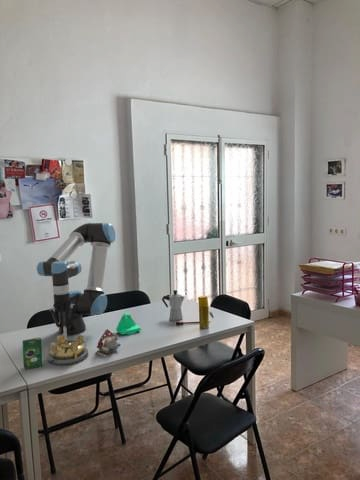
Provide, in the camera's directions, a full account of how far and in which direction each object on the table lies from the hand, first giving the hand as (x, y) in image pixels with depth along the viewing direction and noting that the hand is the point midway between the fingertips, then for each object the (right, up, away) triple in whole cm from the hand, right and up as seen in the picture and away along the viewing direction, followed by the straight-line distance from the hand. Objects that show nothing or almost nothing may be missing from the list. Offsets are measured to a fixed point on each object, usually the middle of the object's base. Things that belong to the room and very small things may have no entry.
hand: (64, 339), depth 194 cm
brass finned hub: (+3, -5, -6) cm, 8 cm away
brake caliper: (+22, -6, +1) cm, 23 cm away
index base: (+3, -7, -6) cm, 10 cm away
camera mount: (+28, -3, +27) cm, 40 cm away
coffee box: (-10, -9, -15) cm, 21 cm away
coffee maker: (+54, 0, +50) cm, 73 cm away
